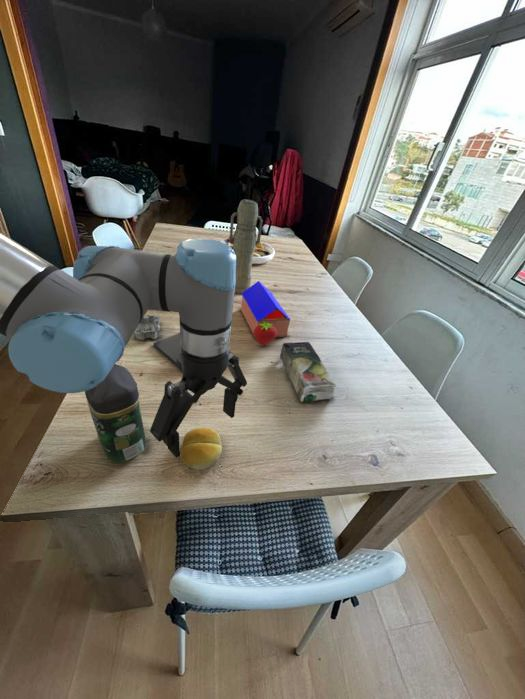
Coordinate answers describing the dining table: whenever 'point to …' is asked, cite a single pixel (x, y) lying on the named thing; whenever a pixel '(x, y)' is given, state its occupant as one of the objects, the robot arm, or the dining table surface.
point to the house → (263, 309)
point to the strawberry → (265, 333)
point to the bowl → (257, 251)
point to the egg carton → (148, 327)
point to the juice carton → (307, 372)
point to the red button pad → (171, 349)
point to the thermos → (245, 241)
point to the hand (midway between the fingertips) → (203, 431)
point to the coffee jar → (117, 415)
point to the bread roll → (201, 448)
